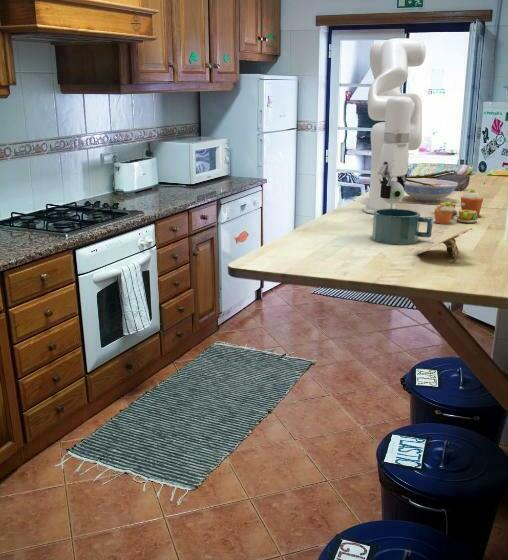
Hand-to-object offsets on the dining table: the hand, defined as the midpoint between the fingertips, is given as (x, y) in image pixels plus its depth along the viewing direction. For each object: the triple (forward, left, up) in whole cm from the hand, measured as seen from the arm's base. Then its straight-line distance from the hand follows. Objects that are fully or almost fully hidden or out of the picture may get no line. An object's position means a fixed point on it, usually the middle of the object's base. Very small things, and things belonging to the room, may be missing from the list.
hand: (392, 196), depth 199 cm
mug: (+12, -12, -10) cm, 19 cm away
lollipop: (0, 0, -10) cm, 10 cm away
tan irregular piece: (+30, -22, -10) cm, 39 cm away
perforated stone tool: (-28, +95, -10) cm, 100 cm away
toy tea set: (+7, +31, -10) cm, 33 cm away
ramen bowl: (-20, +59, -10) cm, 63 cm away
